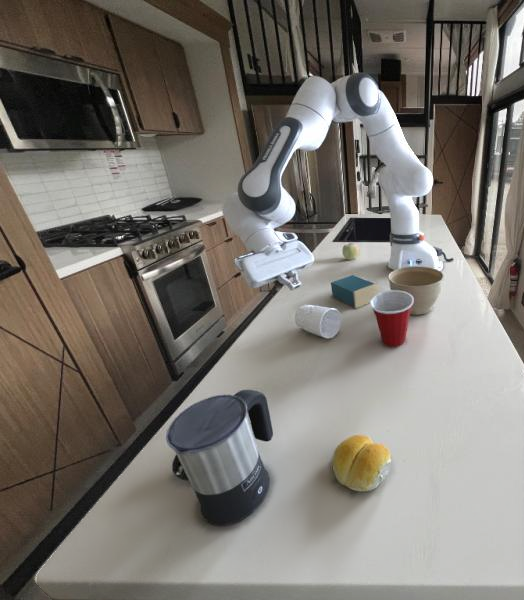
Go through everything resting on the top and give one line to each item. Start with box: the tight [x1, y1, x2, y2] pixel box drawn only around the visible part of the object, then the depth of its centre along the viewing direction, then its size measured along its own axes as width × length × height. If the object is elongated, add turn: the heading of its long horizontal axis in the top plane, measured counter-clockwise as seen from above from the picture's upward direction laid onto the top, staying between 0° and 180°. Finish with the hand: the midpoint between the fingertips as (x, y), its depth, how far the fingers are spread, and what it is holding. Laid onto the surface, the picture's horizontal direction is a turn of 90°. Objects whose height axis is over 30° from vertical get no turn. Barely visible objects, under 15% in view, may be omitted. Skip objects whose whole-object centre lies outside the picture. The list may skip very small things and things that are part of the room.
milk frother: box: [165, 389, 274, 527], centre depth 46 cm, size 14×16×15 cm
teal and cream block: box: [330, 274, 379, 309], centre depth 106 cm, size 5×9×13 cm
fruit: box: [341, 242, 360, 260], centre depth 142 cm, size 8×7×8 cm
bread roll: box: [332, 434, 392, 492], centre depth 50 cm, size 8×9×4 cm
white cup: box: [294, 304, 342, 339], centre depth 86 cm, size 8×8×10 cm
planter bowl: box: [387, 266, 444, 316], centre depth 97 cm, size 16×16×11 cm
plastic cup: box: [368, 290, 414, 348], centre depth 80 cm, size 11×11×12 cm
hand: (296, 287), depth 87 cm, fingers closed
